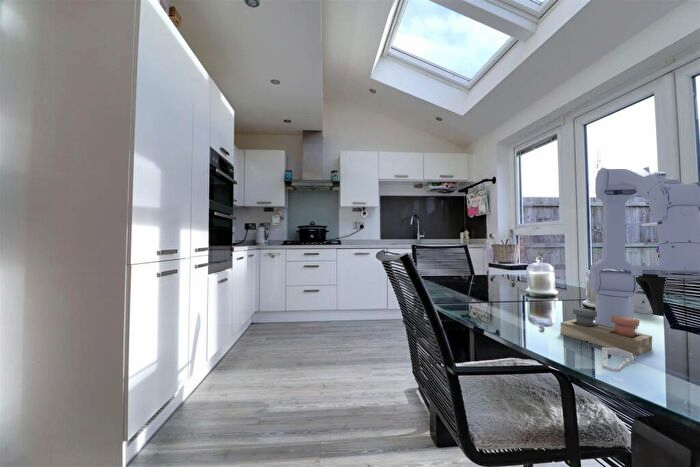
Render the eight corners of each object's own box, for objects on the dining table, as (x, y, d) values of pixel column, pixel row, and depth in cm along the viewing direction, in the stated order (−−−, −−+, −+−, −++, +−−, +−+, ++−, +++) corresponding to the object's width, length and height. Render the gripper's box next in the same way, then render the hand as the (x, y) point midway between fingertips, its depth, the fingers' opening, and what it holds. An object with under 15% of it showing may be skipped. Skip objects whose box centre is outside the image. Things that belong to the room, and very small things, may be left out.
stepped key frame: (637, 382, 56) (637, 373, 56) (602, 374, 59) (602, 365, 59) (631, 356, 66) (631, 348, 66) (601, 350, 69) (601, 342, 69)
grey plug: (578, 321, 81) (579, 307, 81) (600, 326, 76) (600, 311, 76) (568, 323, 78) (569, 309, 78) (590, 329, 74) (591, 313, 74)
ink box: (614, 308, 107) (615, 274, 107) (622, 306, 110) (622, 273, 109) (647, 314, 100) (648, 278, 99) (654, 312, 102) (655, 277, 102)
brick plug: (616, 330, 74) (616, 314, 74) (642, 336, 69) (643, 320, 69) (606, 333, 71) (607, 317, 71) (633, 339, 67) (633, 322, 67)
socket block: (576, 329, 82) (577, 318, 82) (651, 349, 69) (652, 336, 69) (560, 334, 79) (560, 322, 79) (636, 355, 65) (636, 341, 65)
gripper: (642, 240, 58) (646, 315, 56) (750, 243, 52) (759, 325, 51) (624, 245, 64) (628, 312, 62) (719, 248, 59) (726, 321, 57)
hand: (685, 317), depth 57 cm, fingers open, 7 cm apart
